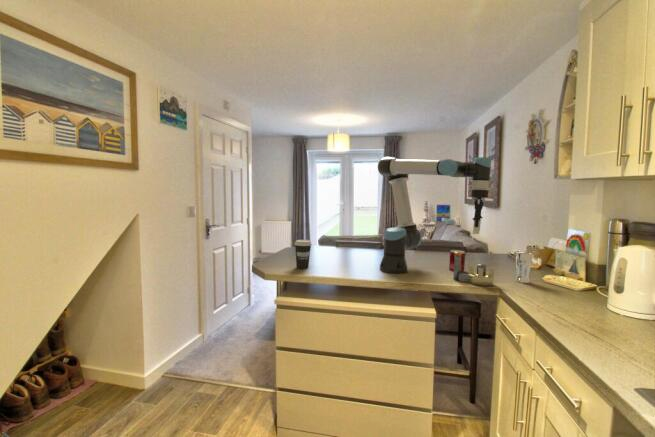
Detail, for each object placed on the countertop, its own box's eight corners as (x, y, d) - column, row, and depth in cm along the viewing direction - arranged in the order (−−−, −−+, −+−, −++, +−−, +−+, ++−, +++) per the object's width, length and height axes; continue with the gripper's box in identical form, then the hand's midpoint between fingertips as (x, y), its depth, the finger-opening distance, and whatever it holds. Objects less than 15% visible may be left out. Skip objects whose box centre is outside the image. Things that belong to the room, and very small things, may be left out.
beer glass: (530, 284, 160) (532, 254, 159) (513, 281, 164) (516, 252, 162) (530, 281, 166) (532, 252, 165) (514, 279, 170) (516, 250, 168)
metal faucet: (493, 282, 161) (495, 254, 160) (492, 287, 151) (494, 258, 150) (454, 276, 170) (456, 250, 168) (451, 281, 160) (452, 253, 159)
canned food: (465, 272, 181) (466, 252, 180) (450, 271, 182) (451, 251, 182) (462, 269, 188) (463, 250, 188) (448, 268, 190) (449, 249, 189)
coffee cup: (290, 268, 178) (291, 241, 176) (298, 264, 186) (299, 239, 185) (306, 270, 174) (307, 242, 173) (313, 266, 183) (314, 240, 182)
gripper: (488, 189, 147) (484, 236, 148) (488, 190, 169) (485, 230, 171) (470, 188, 150) (466, 234, 152) (472, 189, 172) (469, 229, 174)
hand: (476, 232), depth 161 cm, fingers open, 13 cm apart
